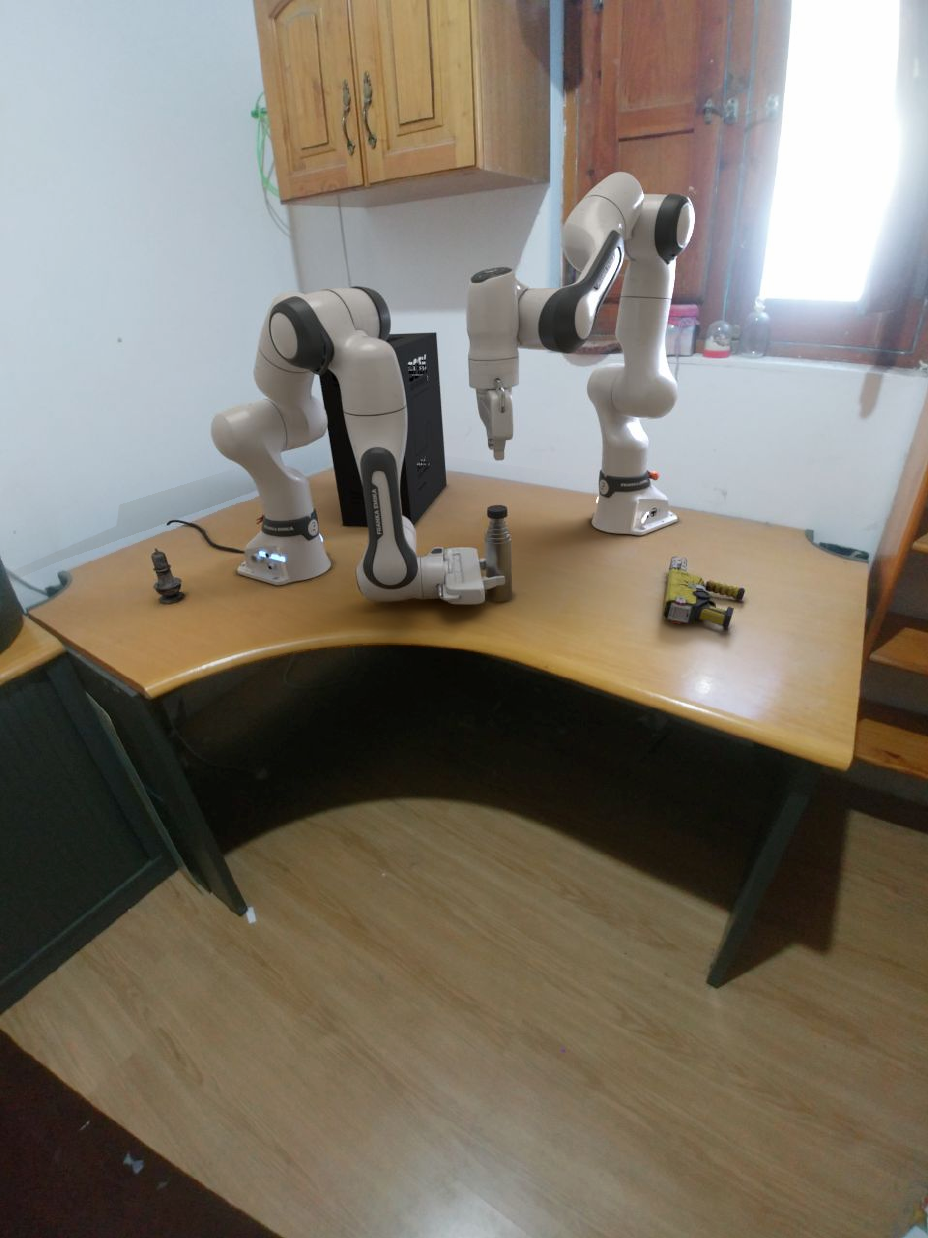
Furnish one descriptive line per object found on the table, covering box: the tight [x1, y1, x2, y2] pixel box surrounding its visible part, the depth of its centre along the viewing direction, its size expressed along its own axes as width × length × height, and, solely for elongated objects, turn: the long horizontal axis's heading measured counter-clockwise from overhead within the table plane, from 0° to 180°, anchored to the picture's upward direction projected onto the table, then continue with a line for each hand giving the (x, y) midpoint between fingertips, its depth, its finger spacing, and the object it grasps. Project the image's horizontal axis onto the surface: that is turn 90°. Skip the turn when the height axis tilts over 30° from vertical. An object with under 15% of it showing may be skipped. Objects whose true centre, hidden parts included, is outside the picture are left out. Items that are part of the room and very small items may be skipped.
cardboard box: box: [318, 332, 448, 527], centre depth 171 cm, size 38×20×45 cm, turn 167°
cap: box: [486, 504, 508, 520], centre depth 118 cm, size 4×4×2 cm
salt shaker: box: [150, 547, 185, 604], centre depth 132 cm, size 6×6×12 cm
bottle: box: [484, 518, 513, 603], centre depth 123 cm, size 5×5×19 cm
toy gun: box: [662, 556, 746, 632], centre depth 120 cm, size 5×24×15 cm
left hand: (503, 572), depth 125 cm, fingers closed on bottle, 5 cm apart
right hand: (495, 453), depth 113 cm, fingers open, 6 cm apart
